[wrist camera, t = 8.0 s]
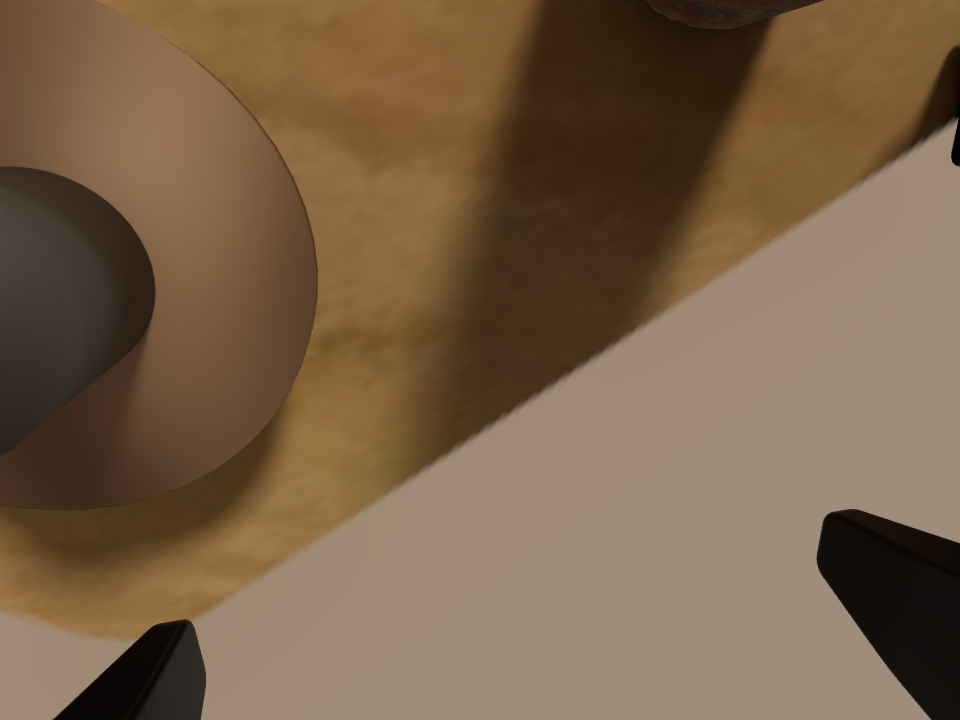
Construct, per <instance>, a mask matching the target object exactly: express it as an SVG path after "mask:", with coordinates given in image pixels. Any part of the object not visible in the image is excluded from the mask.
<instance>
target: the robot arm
mask: <svg viewBox="0 0 960 720" xmlns="http://www.w3.org/2000/svg"><path fill="white" fill-rule="evenodd" d="M951 159H952V162H953V163H954V164H955V165H956V166H960V115H959V120H958V124H957V129H956V134H955V139H954V143H953V148H952V153H951ZM817 565H818V568H819V571H820V573H821V574H822V576H823V578H824V579H825V580H826V582H827V583H828V585H829V586H830V587H831V589H832V590H833V592H834V593H835V594H836V596H837V597H838V599H839V600H840V601H841V602H842V604H843V606H844V607H845V608H846V610H847V611H848V613H849V614H850V615H851V617H852V618H853V619H854V621H855V622H856V624H857V625H858V627H859V628H860V630H861V631H862V632H863V634H864V635H865V637H866V638H867V639H868V641H869V642H870V644H871V645H872V646H873V648H874V649H875V650H876V652H877V653H878V655H879V656H880V657H881V658H882V660H883V661H884V663H885V664H886V665H887V667H888V668H889V669H890V670H891V672H892V673H893V674H894V676H895V677H896V678H897V679H898V681H899V682H900V683H901V684H902V686H903V687H904V688H905V689H906V690H907V692H908V693H909V694H910V695H911V696H912V697H913V699H914V700H915V701H916V702H917V703H918V705H920V707H921V708H922V709H923V711H924V712H925V713H926V714H927V715H928V716H929V718H930V719H931V720H960V543H958V542H954V541H951V540H948V539H945V538H942V537H939V536H936V535H933V534H930V533H927V532H924V531H921V530H918V529H915V528H912V527H909V526H906V525H903V524H900V523H897V522H894V521H891V520H888V519H885V518H882V517H879V516H876V515H873V514H870V513H867V512H864V511H860V510H857V509H848V510H842V511H836V512H831V513H829V514H828V515H827V516H826V517H825V518H824V521H823V525H822V530H821V535H820V541H819V546H818V551H817ZM205 687H206V672H205V666H204V662H203V658H202V655H201V650H200V647H199V643H198V639H197V635H196V631H195V628H194V626H193V624H192V622H191V621H189V620H186V619H184V620H178V621H172V622H166V623H160V624H157V625H154V626H153V627H151V628H150V629H149V630H148V631H147V632H146V633H144V634H143V635H142V636H141V637H140V638H139V639H138V640H137V641H136V642H135V643H134V644H133V645H132V646H131V647H130V648H129V649H128V650H126V651H125V652H124V653H123V654H122V655H121V656H120V657H119V658H118V659H117V660H116V661H115V662H114V663H113V664H111V665H110V666H109V668H107V669H106V670H105V671H104V672H103V673H102V674H101V675H100V676H99V677H98V678H97V679H96V680H95V681H94V682H92V683H91V684H90V685H89V686H88V687H87V688H86V689H85V690H84V691H83V692H82V693H81V694H80V695H79V696H77V698H75V699H74V700H73V701H72V702H71V703H70V704H69V705H68V706H67V707H66V708H65V709H64V710H63V711H61V712H60V714H58V715H57V716H56V717H55V718H54V719H53V720H201V714H202V707H203V701H204V695H205Z"/></svg>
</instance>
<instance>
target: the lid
mask: <svg viewBox="0 0 960 720" xmlns="http://www.w3.org/2000/svg"><path fill="white" fill-rule="evenodd" d="M317 286H318V268H317V260H316V252H315V244H314V238H313V234H312V230H311V226H310V223H309V219H308V215H307V211H306V208H305V205H304V203H303V200H302V198H301V195H300V193H299V190H298V188H297V185H296V183H295V180H294V178H293V176H292V174H291V172H290V171H289V169H288V167H287V165H286V163H285V162H284V160H283V158H282V156H281V154H280V153H279V151H278V149H277V147H276V146H275V144H274V143H273V142H272V140H271V139H270V137H269V136H268V135H267V133H266V132H265V130H264V129H263V128H262V126H261V125H260V123H259V122H258V121H257V119H256V118H255V117H254V116H253V115H252V113H251V112H250V111H249V110H248V109H247V108H246V107H245V106H244V105H243V104H242V102H241V101H240V100H239V99H238V98H237V97H236V96H235V95H234V94H233V92H232V91H231V90H230V89H229V88H227V87H226V86H225V85H224V84H223V83H222V82H221V81H220V80H218V79H217V78H216V77H215V76H214V75H213V74H212V73H210V72H209V71H208V70H207V69H206V68H205V67H204V66H203V65H201V64H200V63H199V62H197V61H196V60H194V59H193V58H192V57H190V56H189V55H187V54H186V53H185V52H183V51H182V50H180V49H179V48H177V47H176V46H175V45H173V44H172V43H170V42H169V41H167V40H166V39H164V38H163V37H161V36H160V35H158V34H157V33H155V32H154V31H152V30H150V29H149V28H147V27H145V26H143V25H142V24H140V23H138V22H136V21H134V20H132V19H131V18H129V17H127V16H125V15H123V14H121V13H120V12H118V11H116V10H114V9H112V8H110V7H109V6H106V5H104V4H101V3H99V2H96V1H94V0H0V505H6V506H11V507H17V508H30V509H44V510H82V509H94V508H102V507H110V506H118V505H123V504H127V503H132V502H136V501H140V500H144V499H148V498H152V497H155V496H158V495H161V494H163V493H166V492H169V491H172V490H175V489H177V488H180V487H182V486H184V485H186V484H188V483H190V482H192V481H194V480H196V479H198V478H200V477H202V476H204V475H206V474H208V473H210V472H211V471H213V470H214V469H216V468H217V467H219V466H220V465H222V464H223V463H225V462H226V461H228V460H229V459H231V458H232V457H234V456H235V455H236V454H237V453H238V452H239V451H241V450H242V449H243V448H244V447H245V446H246V445H247V444H249V443H250V442H251V441H252V440H253V439H254V438H255V437H256V436H257V435H258V434H259V433H260V432H261V430H262V429H263V428H264V427H265V426H266V425H267V424H268V422H269V421H270V420H271V419H272V418H273V417H274V415H275V414H276V412H277V411H278V409H279V408H280V406H281V404H282V403H283V401H284V400H285V398H286V397H287V395H288V394H289V392H290V390H291V388H292V386H293V383H294V381H295V379H296V377H297V375H298V373H299V371H300V368H301V366H302V363H303V359H304V356H305V353H306V349H307V346H308V343H309V339H310V336H311V332H312V329H313V324H314V317H315V311H316V304H317Z"/></svg>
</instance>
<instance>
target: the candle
mask: <svg viewBox="0 0 960 720" xmlns="http://www.w3.org/2000/svg"><path fill="white" fill-rule="evenodd" d="M646 1H647V2H648V3H649V5H650V6H651V7H652V8H653V10H654V11H656V12H658V13H660V14H662V15H664V16H666V17H668V18H669V19H671V20H676V21H681V22H683V23H684V24H686V25H688V26H692V27H699V28H711V29H731V28H736V27H740V26H744V25H748V24H751V23H754V22H757V21H760V20H763V19H766V18H769V17H772V16H776V15H779V14H782V13H785V12H789V11H792V10H795V9H799V8H802V7H805V6H808V5H811V4H814V3H817V2H820V1H823V0H646Z"/></svg>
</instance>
